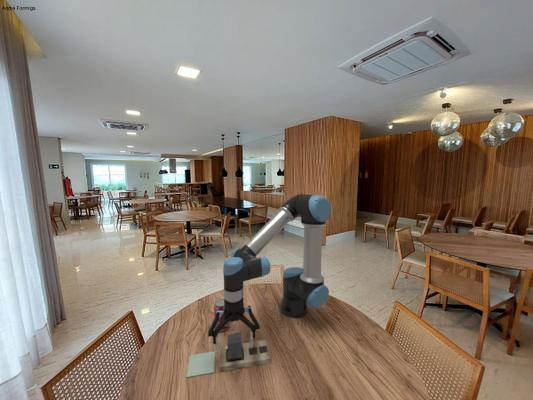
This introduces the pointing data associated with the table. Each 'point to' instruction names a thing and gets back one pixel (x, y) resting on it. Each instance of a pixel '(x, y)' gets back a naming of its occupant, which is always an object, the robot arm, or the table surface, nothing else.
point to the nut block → (234, 347)
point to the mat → (201, 364)
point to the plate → (247, 356)
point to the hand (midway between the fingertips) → (234, 347)
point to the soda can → (220, 305)
